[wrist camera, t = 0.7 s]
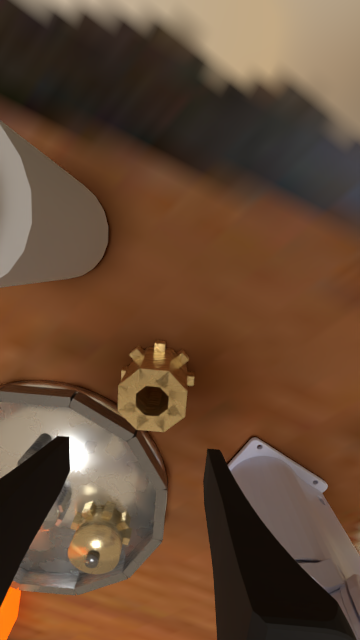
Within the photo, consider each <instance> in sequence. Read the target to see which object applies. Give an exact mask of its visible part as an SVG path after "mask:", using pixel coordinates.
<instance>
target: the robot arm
mask: <svg viewBox="0 0 360 640" xmlns="http://www.w3.org/2000/svg"><path fill="white" fill-rule="evenodd" d="M258 445H261V446H258ZM69 472H70V440H69V437H65V436H57V437H56V438H54V439H53V440H52V441H50V442H49V443H48V444H46V445H45V446H44V447H43V448H41V449H40V450H39V451H37V452H36V453H35V454H33V455H32V456H31V457H29V458H28V459H27V460H25V461H24V462H23V463H21V464H20V465H19V466H17V467H16V468H15V469H13V470H12V471H10V472H9V473H7V474H6V475H5V476H3V477H2V478H0V607H1V605H2V603H3V601H4V599H5V597H6V594H7V592H8V590H9V588H10V586H11V583H12V581H13V579H14V577H15V575H16V573H17V571H18V569H19V567H20V565H21V562H22V560H23V558H24V556H25V554H26V552H27V551H28V549H29V547H30V545H31V543H32V541H33V540H34V538H35V536H36V534H37V533H38V531H39V529H40V527H41V526H42V524H43V522H44V520H45V519H46V517H47V515H48V513H49V512H50V510H51V508H52V506H53V505H54V503H55V501H56V499H57V497H58V496H59V494H60V492H61V490H62V488H63V486H64V483H65V481H66V479H67V476H68V474H69ZM314 480H315V481H314ZM203 482H204V505H205V512H206V520H207V527H208V535H209V542H210V549H211V557H212V565H213V576H214V592H215V608H216V626H217V640H360V556H359V554H358V552H357V550H356V549H355V547H354V545H353V544H352V542H351V540H350V539H349V537H348V535H347V534H346V532H345V530H344V529H343V527H342V525H341V524H340V522H339V520H338V519H337V517H336V515H335V514H334V512H333V510H332V509H331V507H330V505H329V504H328V502H327V500H326V499H325V497H324V495H323V494H322V493H323V492H324V491H325V490H326V489H327V488H328V485H327V483H326V482H325V481H324V480H322V479H321V478H319V477H318V476H316V475H315V474H313V473H311V472H310V471H308V470H307V469H305V468H304V467H302V466H300V465H299V464H297V463H296V462H294V461H293V460H291V459H290V458H288V457H286V456H285V455H283V454H282V453H280V452H279V451H277V450H276V449H274V448H272V447H271V446H269V445H268V444H266V443H265V442H263V441H261V440H260V439H258V438H256V437H254V438H252V439H250V440H249V442H248V443H247V444H246V445H245V446H244V447H243V448H242V449H241V450H240V451H239V453H238V454H237V455H236V456H235V457H234V458H233V459H232V460H231V461H230V463H229V464H228V465H227V463H226V461H225V459H224V457H223V455H222V453H221V451H220V450H216V449H207V457H206V465H205V473H204V481H203Z"/></svg>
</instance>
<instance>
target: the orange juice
mask: <svg viewBox="0 0 360 640" xmlns="http://www.w3.org/2000/svg"><path fill="white" fill-rule="evenodd" d="M20 594H21V590H19V587H18V588H17V590H16V589H14V588H12V587H10V588H9V590H8V592H7V594H6V597H5V599H4V601H3V603H2V605H1V607H0V640H7V637H8V635H9V633H10V631H11V629H12V627H13V625H14V623H15V621H16V619H17V616H18V609H19V601H20Z"/></svg>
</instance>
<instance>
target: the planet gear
mask: <svg viewBox="0 0 360 640" xmlns="http://www.w3.org/2000/svg"><path fill="white" fill-rule="evenodd" d="M129 356H130V357H131V358H132V359H133V360H132V362H131V363H130V365H129V366H124V367H123V369H122V370H121V381H120V383H119V385H118V412H119V413H120V414H121V415H122V416H123V417H124V418H125V419H126V420H127V421H128V422H129V423H130V424H131V425H132V426H133V427H134V428H135V429H136V430H145V431H157V432H165V431H166V430H168V429H169V428H170V427H172V426H173V425H174V424H176V423H177V422H179V421H180V420H181V419H183V418H184V417H185V411H186V401H187V392H188V390H187V386H194V372H191V371H187V365H186V362H187V361H189V355H188V354H187V353H186V352H185V351H184V350H183V349H181V350H180V351H179V352H177V353H176V352H175V351H174V350H173V349H171V348H166V341H165V340H156V341H155V346H154V347H148V348H147V349H145V350H143V349H142V348H141V347H140V345H138V346H137V347H136V348H134V349H133V350H132V351H131V353H130V354H129Z"/></svg>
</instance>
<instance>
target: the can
mask: <svg viewBox="0 0 360 640" xmlns="http://www.w3.org/2000/svg"><path fill="white" fill-rule="evenodd" d="M107 244H108V223H107V219H106V216H105V212H104V210H103V208H102V206H101V205H100V203H99V201H98V199H97V198H96V196H95V195H94V194H93V193H92V192H90V191H89V190H88V189H87V188H86V187H85V186H84V185H83V184H82V183H80V182H79V181H78V180H76V179H75V178H74V177H73V176H71V175H70V174H69V173H67V172H66V171H65V170H63V169H62V168H61V167H60V166H58V165H57V164H56V163H54V162H53V161H52V160H51V159H49V158H48V157H47V156H45V155H44V154H43V153H42V152H40V151H39V150H38V149H36V148H35V147H34V146H32V145H31V144H30V143H29V142H27V141H26V140H25V139H23V138H22V137H21V136H20V135H18V134H17V133H16V132H14V131H13V130H12V129H10V128H9V127H8V126H7V125H5V124H4V123H3V122H1V121H0V287H8V286H16V285H24V284H32V283H39V282H47V281H55V280H63V279H70V278H74V277H79V276H82V275H84V274H86V273H87V272H89V271H91V270H92V269H94V267H95V266H96V265H97V264H98V263H99V261H100V260H101V259H102V258H103V255H104V252H105V250H106V247H107Z"/></svg>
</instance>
